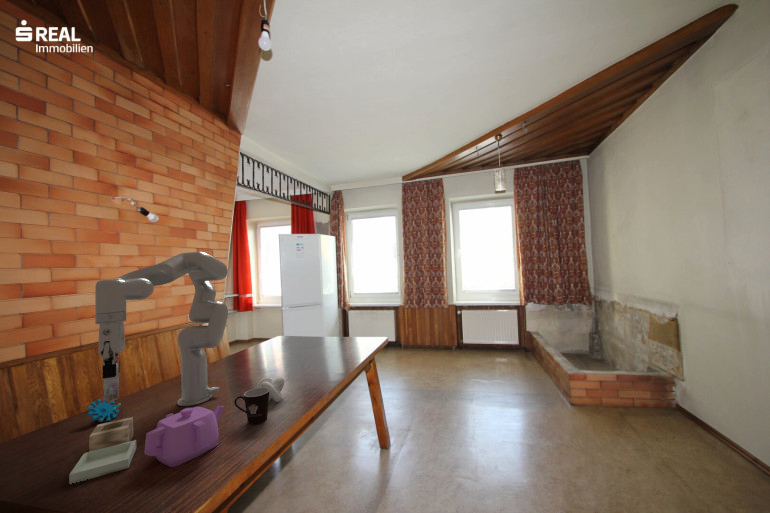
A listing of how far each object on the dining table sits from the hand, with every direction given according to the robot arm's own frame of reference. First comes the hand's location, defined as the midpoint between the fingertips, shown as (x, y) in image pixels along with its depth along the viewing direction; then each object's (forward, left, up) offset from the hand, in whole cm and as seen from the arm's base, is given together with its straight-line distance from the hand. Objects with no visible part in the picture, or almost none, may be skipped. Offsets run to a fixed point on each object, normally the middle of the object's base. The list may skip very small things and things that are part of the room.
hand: (111, 375), depth 100 cm
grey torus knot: (-50, -7, -23) cm, 55 cm away
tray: (-1, +12, -22) cm, 25 cm away
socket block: (0, -1, -22) cm, 22 cm away
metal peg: (0, 0, -7) cm, 7 cm away
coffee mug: (-41, +8, -23) cm, 47 cm away
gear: (+7, -29, -23) cm, 37 cm away
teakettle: (-21, +17, -23) cm, 35 cm away
